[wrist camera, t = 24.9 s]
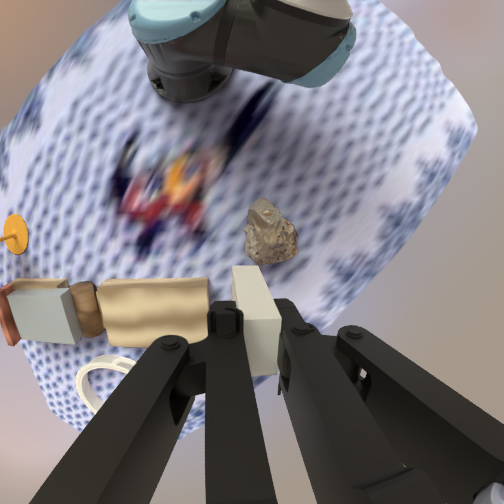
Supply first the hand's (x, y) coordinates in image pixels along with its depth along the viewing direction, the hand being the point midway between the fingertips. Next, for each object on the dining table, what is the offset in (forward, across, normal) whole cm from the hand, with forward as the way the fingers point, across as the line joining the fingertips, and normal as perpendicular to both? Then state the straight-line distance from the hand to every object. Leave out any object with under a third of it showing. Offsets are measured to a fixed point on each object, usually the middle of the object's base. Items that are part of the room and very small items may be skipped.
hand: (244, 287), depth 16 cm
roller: (+30, -26, -17) cm, 43 cm away
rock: (+32, +6, -2) cm, 33 cm away
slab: (+27, -38, -17) cm, 50 cm away
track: (+32, -27, -17) cm, 45 cm away
